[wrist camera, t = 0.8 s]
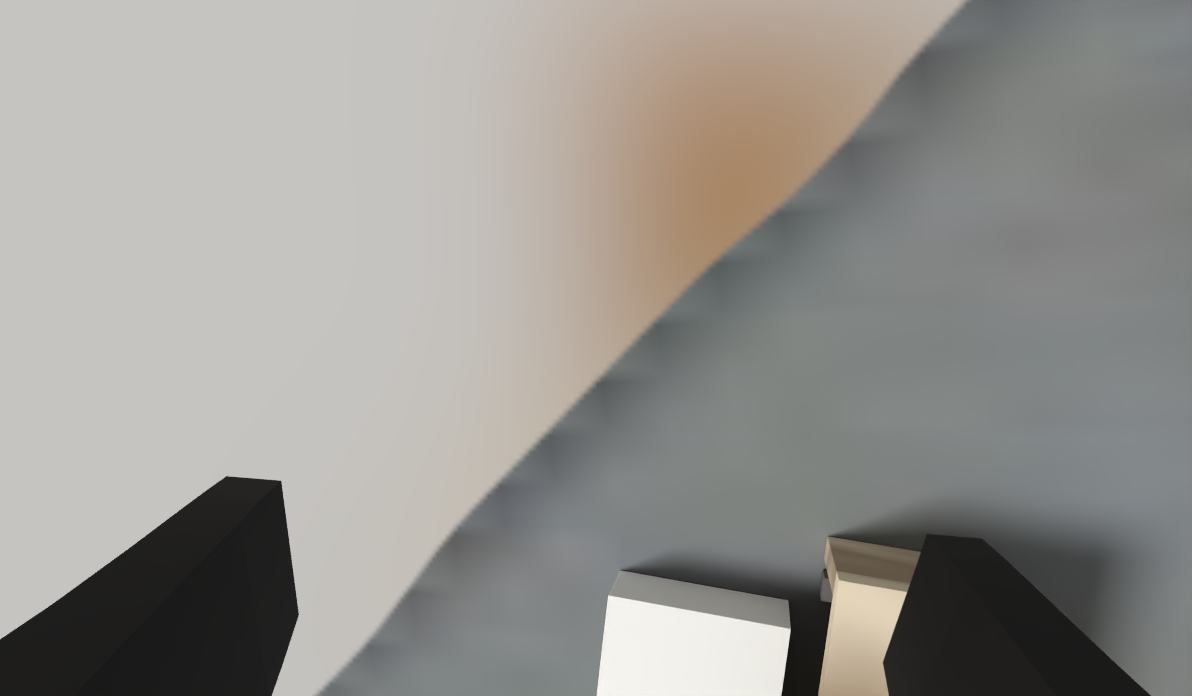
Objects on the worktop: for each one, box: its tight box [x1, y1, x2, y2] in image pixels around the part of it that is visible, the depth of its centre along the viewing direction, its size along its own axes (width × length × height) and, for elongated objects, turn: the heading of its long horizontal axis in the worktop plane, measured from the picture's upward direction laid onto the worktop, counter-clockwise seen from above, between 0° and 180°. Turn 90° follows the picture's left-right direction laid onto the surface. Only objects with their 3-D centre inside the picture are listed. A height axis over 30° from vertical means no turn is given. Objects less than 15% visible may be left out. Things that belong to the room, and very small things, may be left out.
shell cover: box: [597, 570, 791, 696], centre depth 29 cm, size 6×6×2 cm
